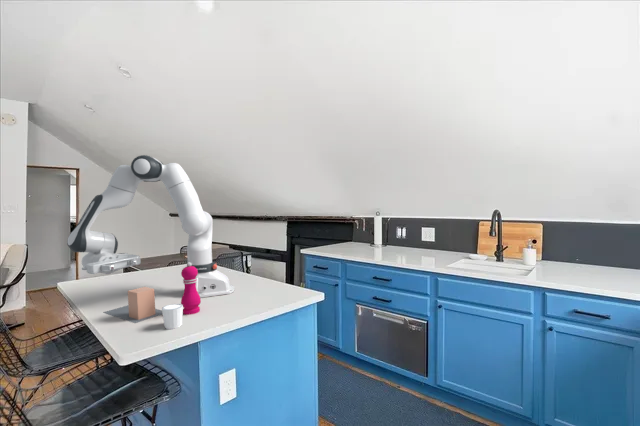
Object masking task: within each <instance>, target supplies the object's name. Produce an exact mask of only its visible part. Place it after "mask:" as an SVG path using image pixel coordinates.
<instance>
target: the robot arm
mask: <svg viewBox="0 0 640 426" xmlns="http://www.w3.org/2000/svg"><path fill="white" fill-rule="evenodd" d="M160 181H161V183H163V185H164V186H165V188H166V190H167V192H168V195H169V196H170V198H171V199H172V201H173V204H174V205H175V208H176V212H177V214H178V215H177V216H178V218H179V220H180V223H181V228H182V229H183V232H185V233H186V234H187V235H188V241H187V245H186V254H187V255H186V256H187V263H188V262H190V263H191V264H192V265H191V266H193V267H195V268H196V269H197V271H198V275H197V276H196V278H197V279H196V280H197V282H196V289H197V292H198V294H199V296H200V299H201V298H208V297H215V296H222V295H223V296H224V295H230V294H232V293H234V292H235V289H236V288H235V285H233V284H231V282H230V279H229V277H228V275H226V274H225V273H223V272H221V271H220V270H218V264H217V262H214V261H213V251H212V249H213V248H212V247H213V246H212V245H213V243H212V242H213V231H214V230H213V227H214V225H213V224H214V223H213V222H214V220H213V217H212V215H211V214H210V213H209V212H207V211H205V210H203V207H202V204H201V202H200V198H199V195H198V193H197V191H196V189H195V187H194V185H193V183H192V181H191V179H190V177H189V176H188V174H187V173H186V171H185V169H184V168H183V167H182V166H181V164H179V163H178V162H169V163H167V164H164V163H163V162H162V161H161V160H159V159H157V158H156V157H153V156H150V155H147V154H143V155H138V156H136V157H135V158H133V160H132V161H131V164H129V165H128V164H121V165H119V166H117V167H116V169H115V170H114V172H113V174H112V176H111V178H110V179H109V182H108V185H107V186H106V189H105V190H104V191H103V192H102V193H100V194H97V195H95V196H94V198H92V200H91V201H90V203H89V204H88V206H87V207H86V210H84V212H83V214H82V215H81V218H80V219H79V221H78V223H77V224H76V226H75V227H74V228H73V229H72V231H71V232H70V234H69V235H68V237H67V241H66V242H67V243H66V245H67V246H68V248H69V249H70V250H71V251H72V252H74V253H86V254H85V255H84V256H83V257H82V259H81V264H82V268H81V270H82V271H86V273H87V274H89V275H95V274H105V275H110V274H113V273H116V272H117V271H119V270H123V269H127V268H129V267H133V266H138V265H141V263H142V262H141V260H142V259H141V256H140V255H139V254H138V255H136V254H130V253H128V252H122V253H121V252H119V253H117V251H118V247H119V241H118V239H117V237H116V235H115V234H113V233H110V232H104V231H96V230H91V228H92V226H93V225H94V222H96V219H97V218H98V216H99V215H100V214H101V213H102V212H106V211H109V210H116V209H122V208H125V207H127V206H129V204H131V203H132V202H133V200H134V197H135V194H136V191H137V189H138V186H139V184H140V183H142V182H146V183H147V182H151V183H157V182H160Z"/></svg>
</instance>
